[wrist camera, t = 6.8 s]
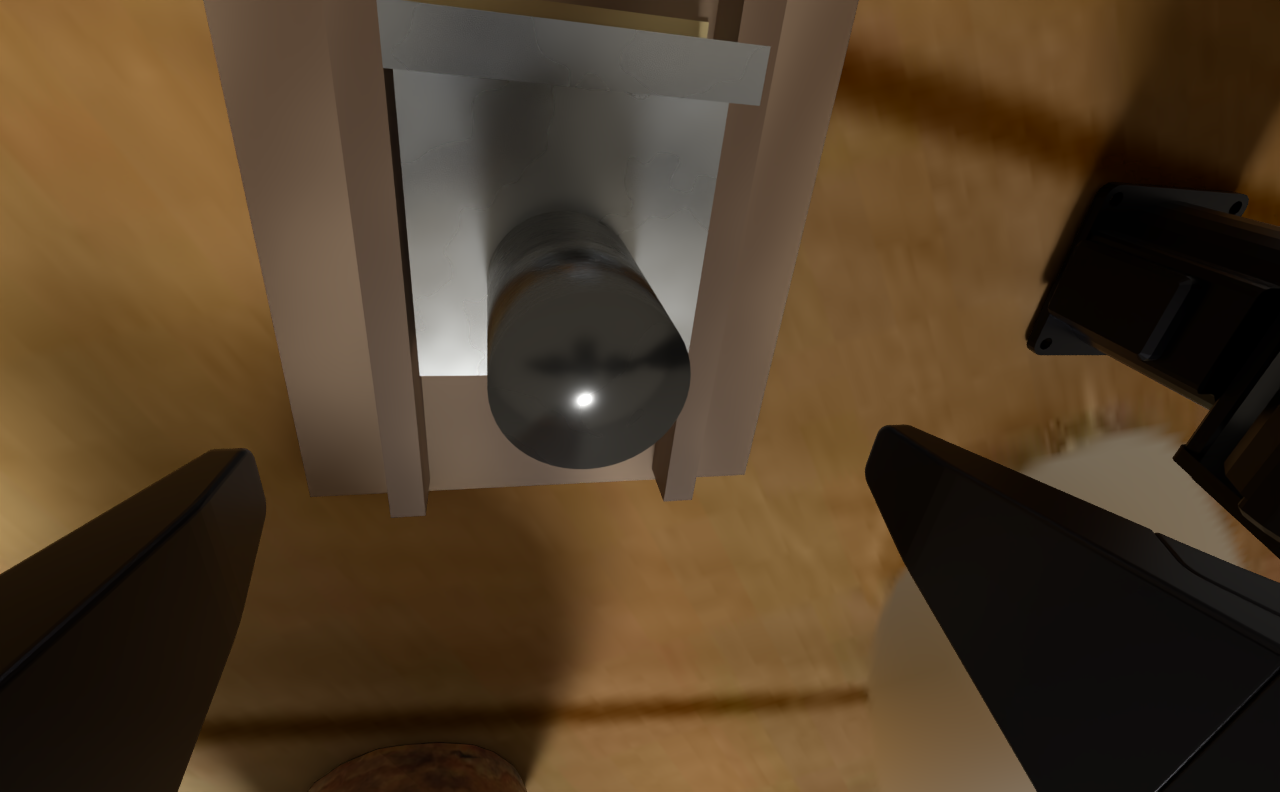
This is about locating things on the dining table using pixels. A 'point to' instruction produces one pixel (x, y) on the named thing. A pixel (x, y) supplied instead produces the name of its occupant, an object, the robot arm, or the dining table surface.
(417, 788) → the potted plant
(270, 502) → the dining table surface
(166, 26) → the dining table surface
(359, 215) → the press bed
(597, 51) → the metal press slider
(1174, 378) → the robot arm
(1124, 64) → the dining table surface
